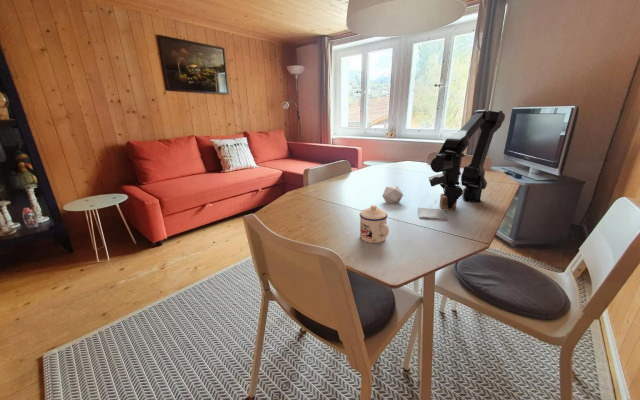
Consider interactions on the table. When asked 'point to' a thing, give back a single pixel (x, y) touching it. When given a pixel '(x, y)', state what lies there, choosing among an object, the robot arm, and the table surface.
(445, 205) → the walnut cube
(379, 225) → the teacup with lid
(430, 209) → the coaster
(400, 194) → the die
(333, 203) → the table surface
